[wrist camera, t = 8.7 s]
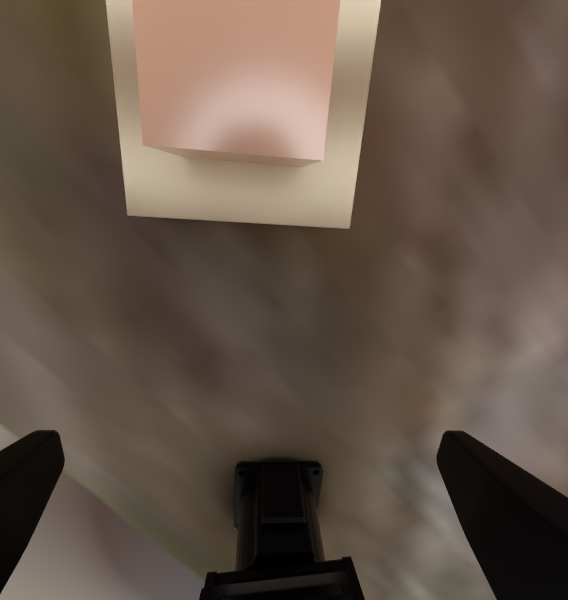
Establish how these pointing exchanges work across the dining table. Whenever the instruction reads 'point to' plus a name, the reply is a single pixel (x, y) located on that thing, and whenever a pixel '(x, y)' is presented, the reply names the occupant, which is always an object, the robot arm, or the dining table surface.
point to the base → (249, 176)
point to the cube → (236, 78)
